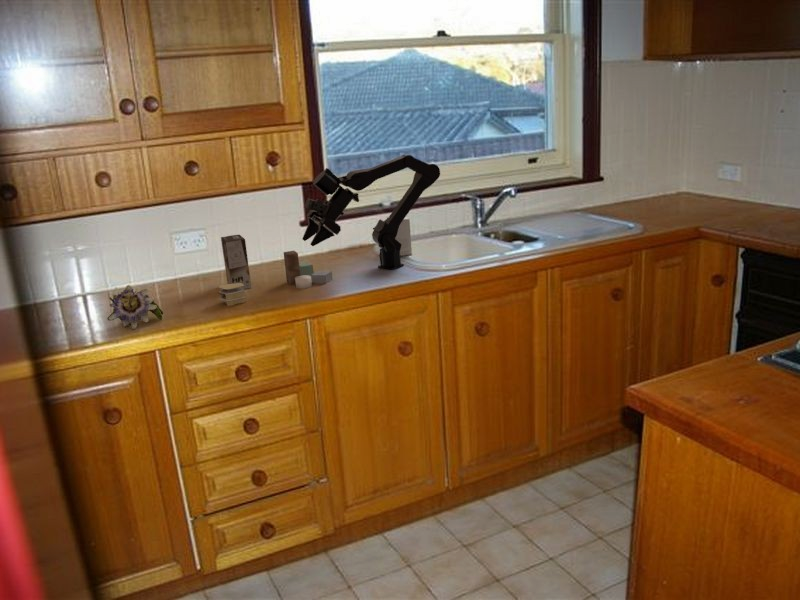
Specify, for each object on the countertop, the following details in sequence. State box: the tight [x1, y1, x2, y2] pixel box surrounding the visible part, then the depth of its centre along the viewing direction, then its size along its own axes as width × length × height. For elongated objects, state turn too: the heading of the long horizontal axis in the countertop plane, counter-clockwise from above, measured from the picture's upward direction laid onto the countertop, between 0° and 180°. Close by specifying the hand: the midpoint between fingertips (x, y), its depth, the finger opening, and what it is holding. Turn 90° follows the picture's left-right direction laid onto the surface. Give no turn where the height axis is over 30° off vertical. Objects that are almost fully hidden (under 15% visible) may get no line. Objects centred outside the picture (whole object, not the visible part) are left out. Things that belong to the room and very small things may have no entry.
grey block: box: [311, 270, 333, 285], centre depth 238 cm, size 5×5×3 cm
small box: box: [386, 216, 413, 257], centre depth 266 cm, size 8×6×13 cm
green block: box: [299, 261, 314, 276], centre depth 247 cm, size 6×4×4 cm, turn 31°
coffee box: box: [220, 234, 252, 290], centre depth 237 cm, size 9×6×16 cm
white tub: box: [295, 275, 313, 290], centre depth 234 cm, size 5×5×3 cm
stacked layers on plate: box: [218, 283, 247, 307], centre depth 222 cm, size 10×9×6 cm
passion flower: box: [107, 284, 164, 331], centre depth 208 cm, size 13×12×14 cm
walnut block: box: [283, 250, 300, 286], centre depth 238 cm, size 4×4×10 cm
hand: (307, 242), depth 238 cm, fingers open, 9 cm apart
